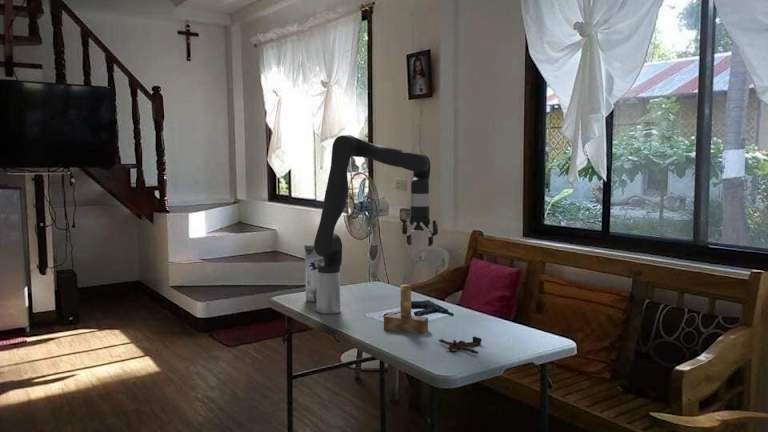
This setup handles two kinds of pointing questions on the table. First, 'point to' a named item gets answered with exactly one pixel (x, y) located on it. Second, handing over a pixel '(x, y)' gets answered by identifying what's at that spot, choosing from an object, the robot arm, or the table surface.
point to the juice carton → (311, 272)
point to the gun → (428, 307)
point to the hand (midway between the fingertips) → (419, 245)
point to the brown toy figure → (462, 345)
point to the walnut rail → (406, 323)
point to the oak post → (405, 301)
